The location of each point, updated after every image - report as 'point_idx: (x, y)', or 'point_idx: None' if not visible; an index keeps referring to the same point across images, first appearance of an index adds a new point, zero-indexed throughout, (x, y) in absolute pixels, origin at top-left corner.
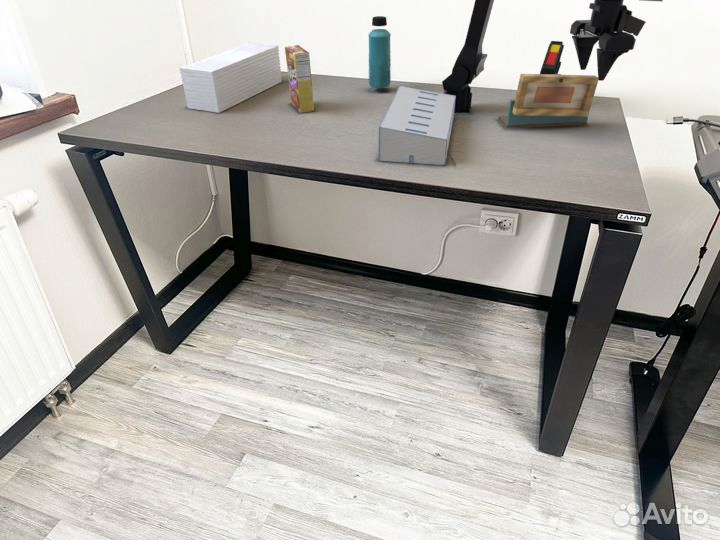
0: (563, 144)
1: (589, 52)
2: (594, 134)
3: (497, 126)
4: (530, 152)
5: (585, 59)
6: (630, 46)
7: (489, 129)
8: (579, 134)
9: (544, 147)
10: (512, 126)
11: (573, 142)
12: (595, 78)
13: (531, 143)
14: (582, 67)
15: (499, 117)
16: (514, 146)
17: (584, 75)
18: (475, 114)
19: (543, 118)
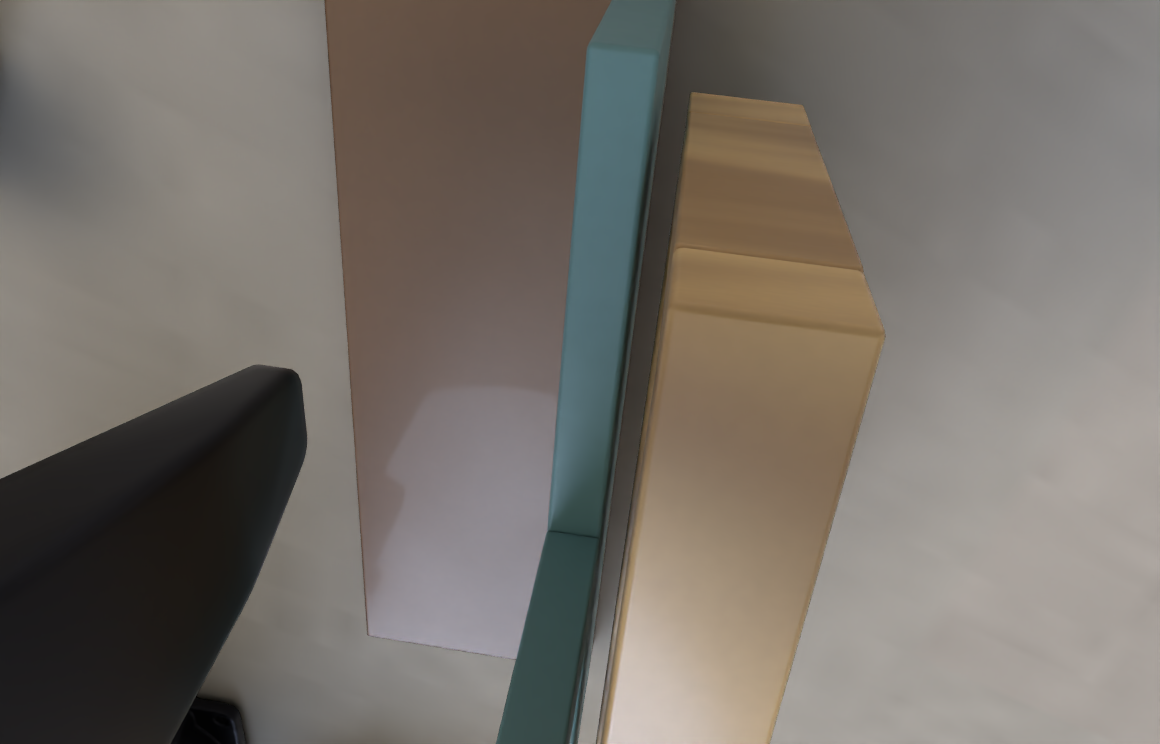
0: (1052, 451)
1: (5, 668)
2: (967, 25)
3: (513, 665)
4: (1064, 704)
5: (173, 573)
6: None
7: None
8: (896, 189)
9: (1031, 596)
10: (593, 635)
11: (1056, 354)
12: (865, 406)
13: (914, 631)
14: (284, 469)
15: (391, 636)
16: (915, 732)
17: (653, 538)
18: (248, 679)
19: (612, 480)
